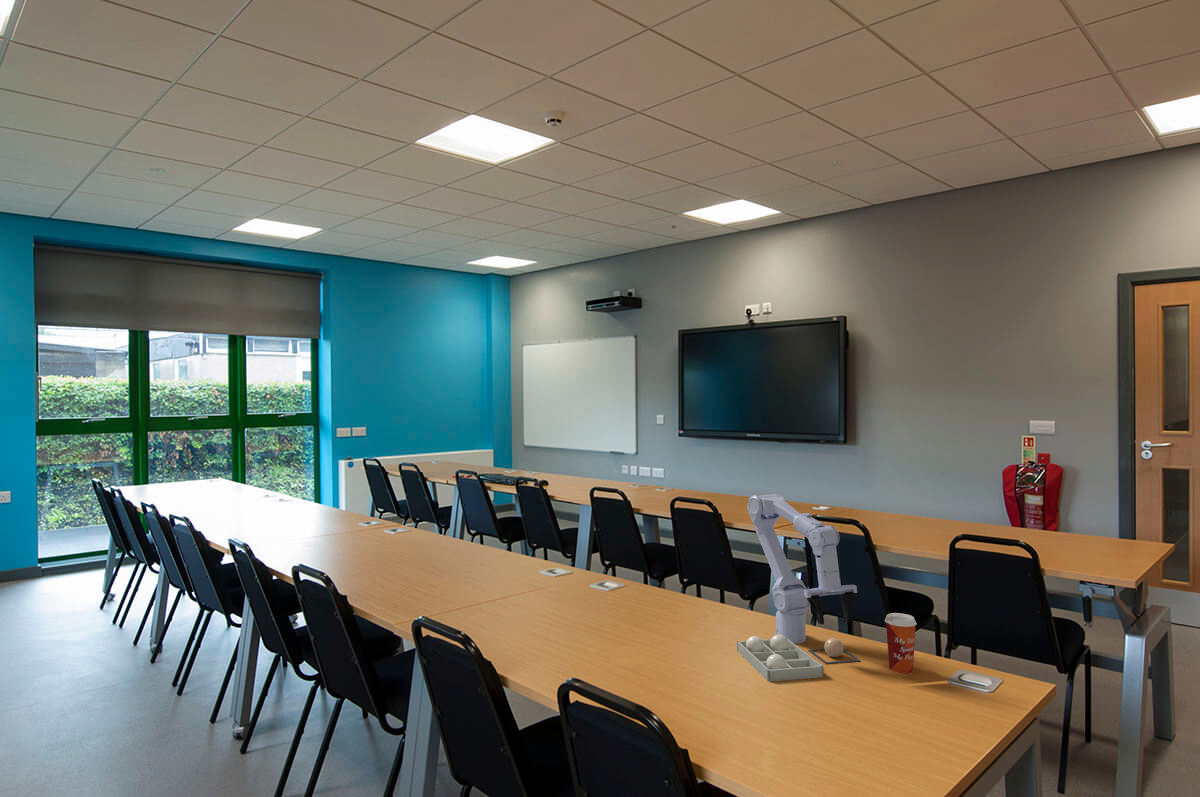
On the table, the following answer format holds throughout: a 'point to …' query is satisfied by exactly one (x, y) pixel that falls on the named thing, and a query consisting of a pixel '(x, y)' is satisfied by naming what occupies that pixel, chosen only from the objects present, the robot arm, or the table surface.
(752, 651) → the white egg
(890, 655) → the paper cup
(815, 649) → the coaster
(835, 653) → the beige ball
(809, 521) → the robot arm
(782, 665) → the white egg
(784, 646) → the white egg
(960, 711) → the table surface
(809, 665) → the tray
